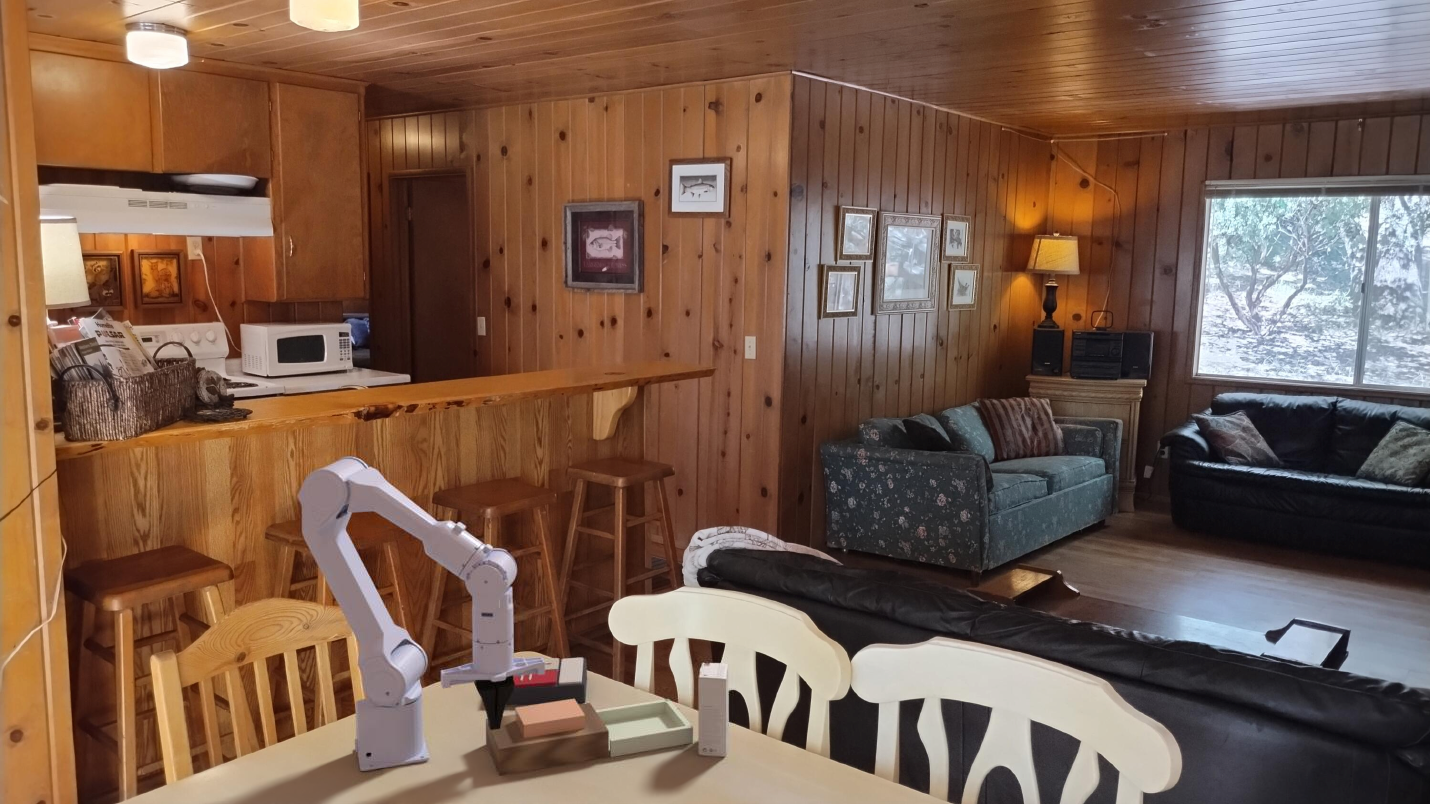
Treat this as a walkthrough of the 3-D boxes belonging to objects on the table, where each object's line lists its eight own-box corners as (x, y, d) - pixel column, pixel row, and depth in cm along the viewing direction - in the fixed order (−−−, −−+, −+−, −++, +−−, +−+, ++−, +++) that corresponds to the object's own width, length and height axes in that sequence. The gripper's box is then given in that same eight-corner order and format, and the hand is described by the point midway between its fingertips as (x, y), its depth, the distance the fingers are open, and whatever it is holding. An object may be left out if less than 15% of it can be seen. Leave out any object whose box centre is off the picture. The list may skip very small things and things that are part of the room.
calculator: (498, 659, 180) (586, 653, 182) (499, 683, 181) (587, 677, 182) (490, 686, 169) (584, 679, 171) (492, 711, 170) (585, 704, 171)
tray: (611, 756, 154) (611, 740, 153) (591, 725, 163) (591, 710, 163) (692, 742, 159) (693, 727, 158) (668, 713, 168) (668, 698, 168)
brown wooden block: (499, 775, 148) (498, 748, 147) (486, 744, 157) (485, 718, 156) (608, 756, 154) (608, 730, 153) (589, 727, 163) (589, 702, 162)
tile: (524, 737, 151) (523, 724, 150) (515, 720, 156) (515, 707, 156) (585, 728, 154) (585, 715, 154) (574, 711, 159) (574, 698, 159)
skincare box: (727, 757, 154) (728, 679, 152) (696, 755, 155) (697, 677, 153) (729, 737, 160) (730, 662, 159) (700, 736, 161) (701, 661, 159)
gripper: (445, 653, 143) (447, 747, 145) (549, 640, 149) (550, 730, 151) (437, 635, 150) (439, 725, 152) (538, 623, 155) (539, 709, 157)
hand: (494, 726), depth 152 cm, fingers closed
